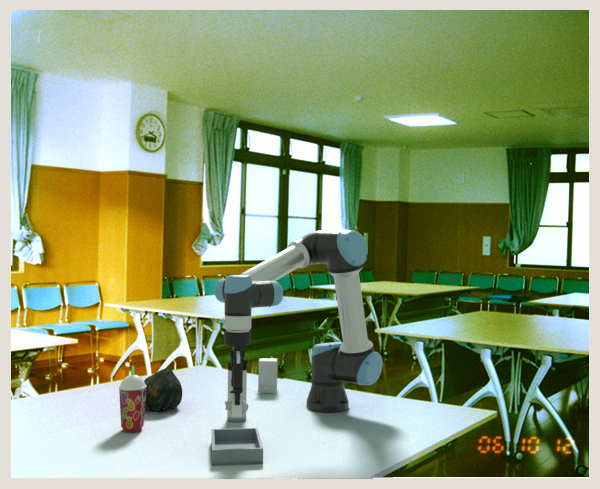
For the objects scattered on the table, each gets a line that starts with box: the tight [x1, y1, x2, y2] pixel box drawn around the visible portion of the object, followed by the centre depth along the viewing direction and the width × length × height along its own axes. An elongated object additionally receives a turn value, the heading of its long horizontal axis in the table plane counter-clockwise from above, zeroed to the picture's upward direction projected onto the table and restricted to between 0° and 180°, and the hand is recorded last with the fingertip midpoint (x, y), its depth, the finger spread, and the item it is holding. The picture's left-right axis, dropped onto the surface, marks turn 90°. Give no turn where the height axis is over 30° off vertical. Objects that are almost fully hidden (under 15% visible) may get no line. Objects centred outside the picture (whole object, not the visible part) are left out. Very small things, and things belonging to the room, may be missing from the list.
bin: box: [211, 427, 264, 466], centre depth 181 cm, size 13×19×4 cm
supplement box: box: [257, 357, 278, 394], centre depth 256 cm, size 7×7×13 cm
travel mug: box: [226, 358, 249, 423], centre depth 215 cm, size 6×7×20 cm
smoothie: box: [118, 365, 147, 434], centre depth 201 cm, size 8×8×20 cm
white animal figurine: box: [224, 392, 249, 414], centre depth 181 cm, size 5×7×8 cm
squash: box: [143, 367, 183, 412], centre depth 228 cm, size 14×15×15 cm
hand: (236, 413), depth 181 cm, fingers closed on white animal figurine, 5 cm apart
